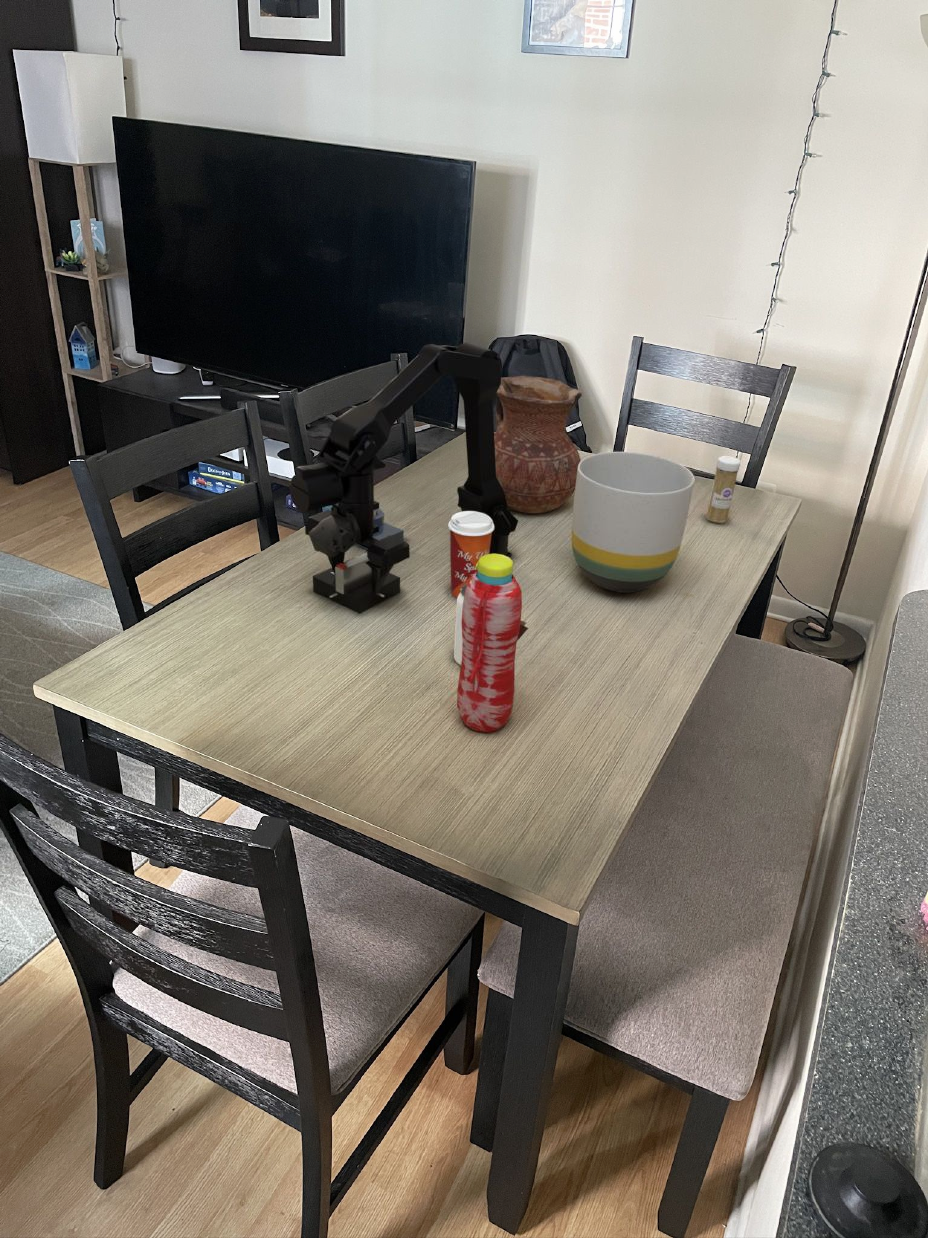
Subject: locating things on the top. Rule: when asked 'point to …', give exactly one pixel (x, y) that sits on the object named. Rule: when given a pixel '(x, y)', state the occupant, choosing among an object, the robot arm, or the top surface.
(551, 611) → the top surface
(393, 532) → the blue stepped block
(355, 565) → the grey block red tab
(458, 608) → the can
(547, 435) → the jug
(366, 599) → the black dial base
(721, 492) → the sprinkles bottle
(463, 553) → the paper cup
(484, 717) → the water bottle
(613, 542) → the planter
